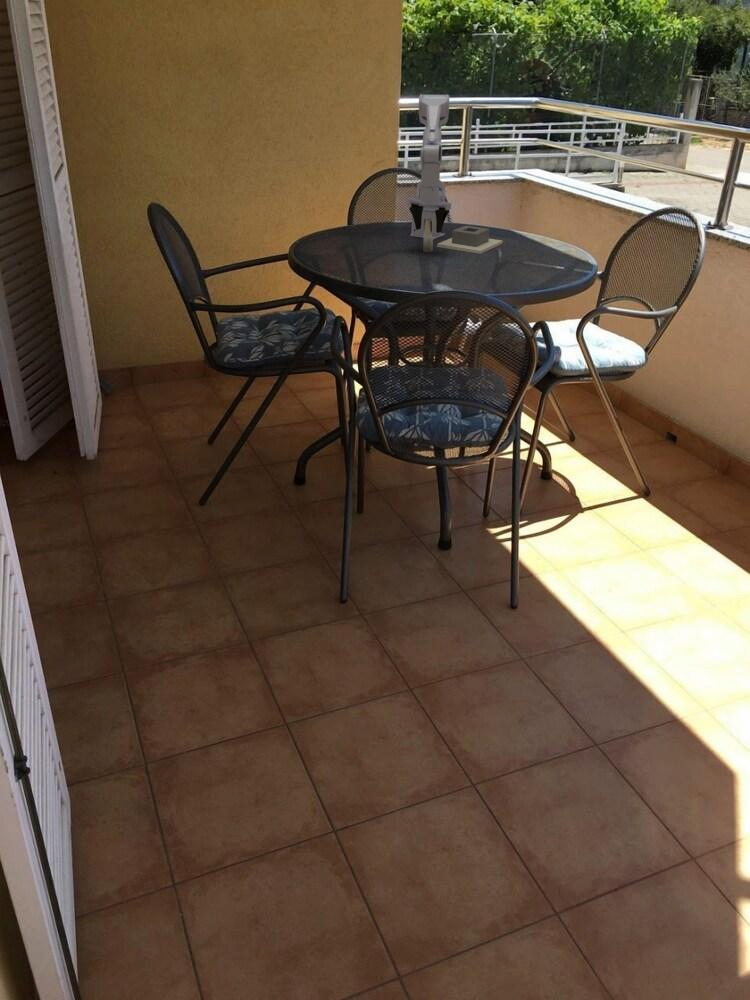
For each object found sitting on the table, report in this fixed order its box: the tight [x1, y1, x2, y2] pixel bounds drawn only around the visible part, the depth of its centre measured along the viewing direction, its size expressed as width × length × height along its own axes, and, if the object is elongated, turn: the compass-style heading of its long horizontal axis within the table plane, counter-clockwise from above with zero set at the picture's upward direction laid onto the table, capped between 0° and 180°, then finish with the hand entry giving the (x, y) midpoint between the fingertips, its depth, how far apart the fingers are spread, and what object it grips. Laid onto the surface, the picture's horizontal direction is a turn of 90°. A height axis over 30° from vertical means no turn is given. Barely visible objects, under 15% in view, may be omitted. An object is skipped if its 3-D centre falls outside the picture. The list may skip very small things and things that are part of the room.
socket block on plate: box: [436, 225, 504, 255], centre depth 274 cm, size 16×16×5 cm
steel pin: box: [422, 218, 434, 253], centre depth 266 cm, size 3×3×10 cm
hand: (428, 230), depth 266 cm, fingers open, 7 cm apart
